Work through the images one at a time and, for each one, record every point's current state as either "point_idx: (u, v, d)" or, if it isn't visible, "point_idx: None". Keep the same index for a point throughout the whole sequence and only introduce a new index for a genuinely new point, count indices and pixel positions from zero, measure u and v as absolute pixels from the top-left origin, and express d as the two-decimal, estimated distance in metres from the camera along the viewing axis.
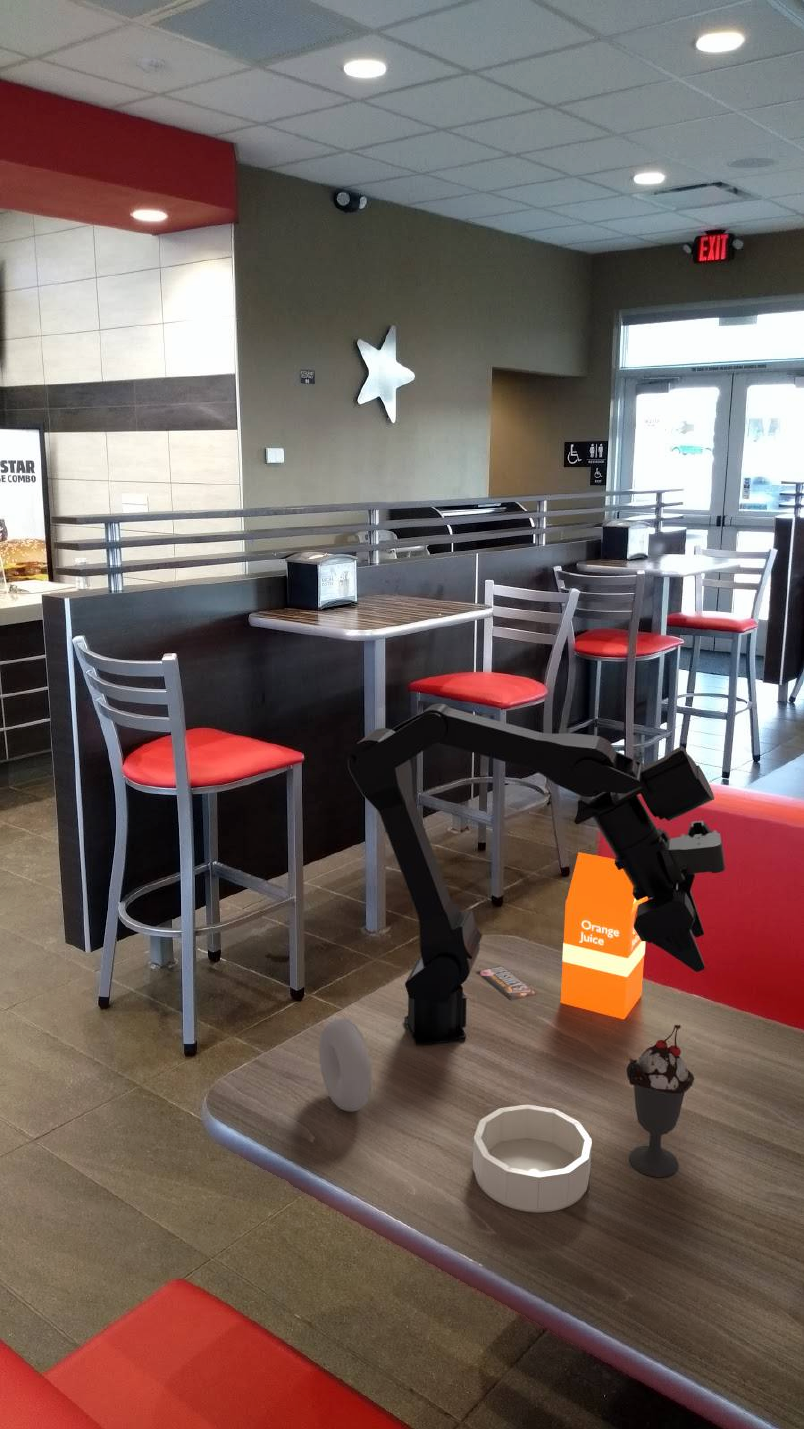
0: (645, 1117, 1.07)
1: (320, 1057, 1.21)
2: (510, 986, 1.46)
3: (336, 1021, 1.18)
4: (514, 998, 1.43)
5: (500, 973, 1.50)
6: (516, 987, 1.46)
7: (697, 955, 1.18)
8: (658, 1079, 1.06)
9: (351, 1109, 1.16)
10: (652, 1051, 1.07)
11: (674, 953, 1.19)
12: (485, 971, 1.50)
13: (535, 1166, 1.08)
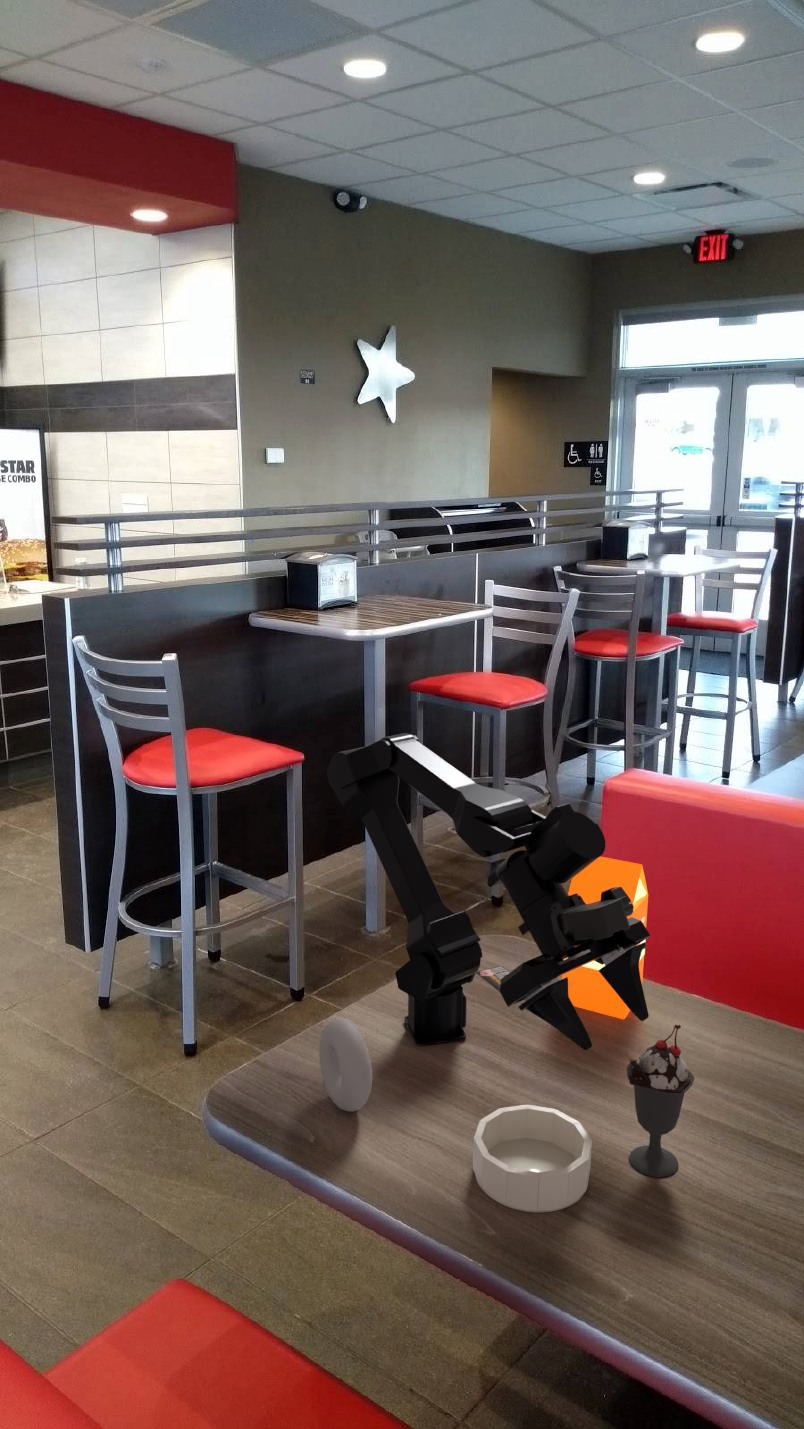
0: (645, 1117, 1.07)
1: (320, 1057, 1.21)
2: None
3: (336, 1020, 1.18)
4: None
5: (500, 973, 1.50)
6: None
7: (577, 1030, 1.08)
8: (658, 1079, 1.06)
9: (351, 1109, 1.16)
10: (652, 1051, 1.07)
11: (556, 1026, 1.10)
12: (485, 971, 1.50)
13: (535, 1166, 1.08)
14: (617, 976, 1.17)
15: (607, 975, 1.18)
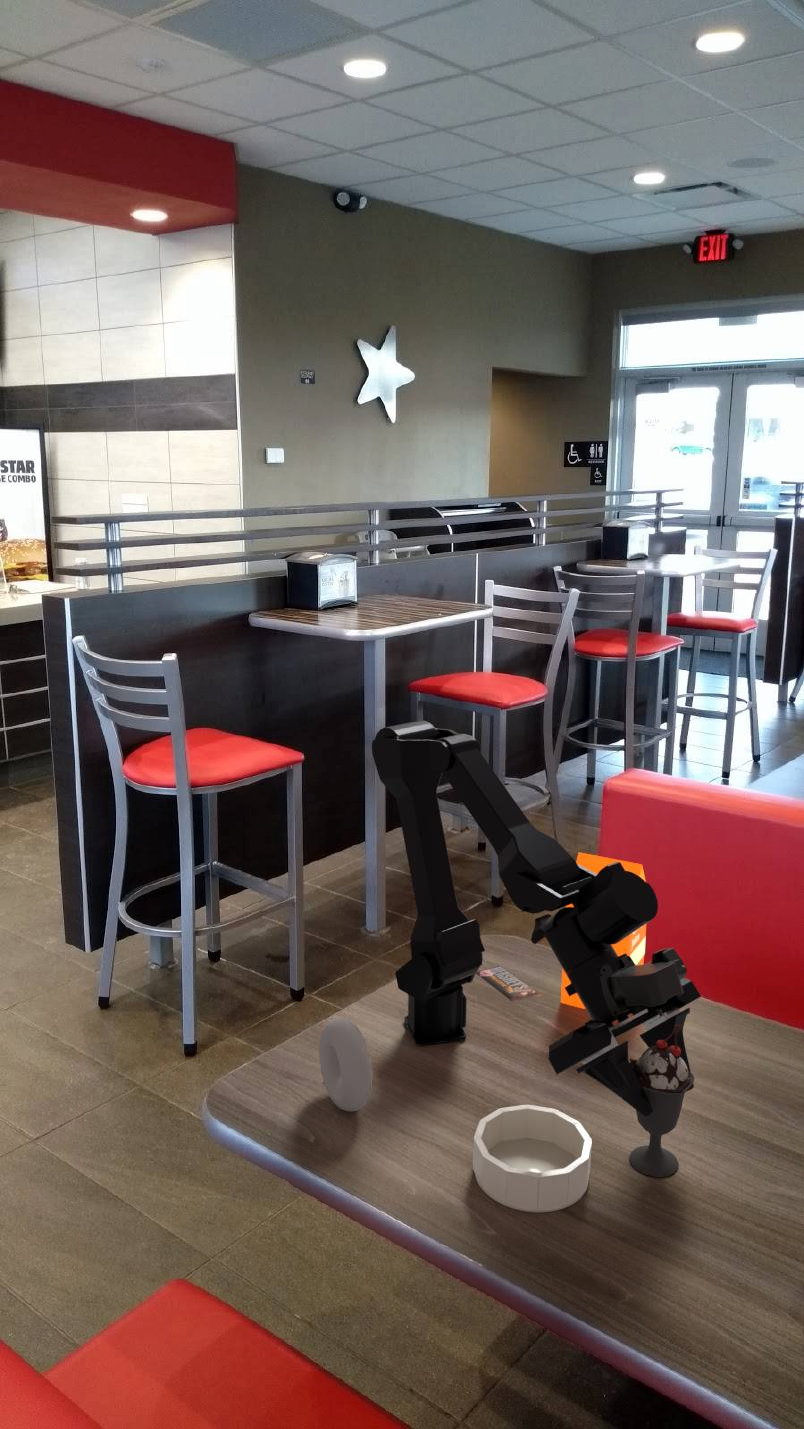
0: (645, 1117, 1.07)
1: (320, 1057, 1.21)
2: (510, 986, 1.46)
3: (336, 1020, 1.18)
4: (515, 998, 1.43)
5: (499, 973, 1.50)
6: (516, 986, 1.46)
7: (638, 1095, 1.05)
8: (658, 1079, 1.06)
9: (351, 1109, 1.16)
10: (652, 1051, 1.07)
11: (615, 1090, 1.07)
12: (484, 971, 1.50)
13: (535, 1166, 1.08)
14: None
15: (649, 1041, 1.13)
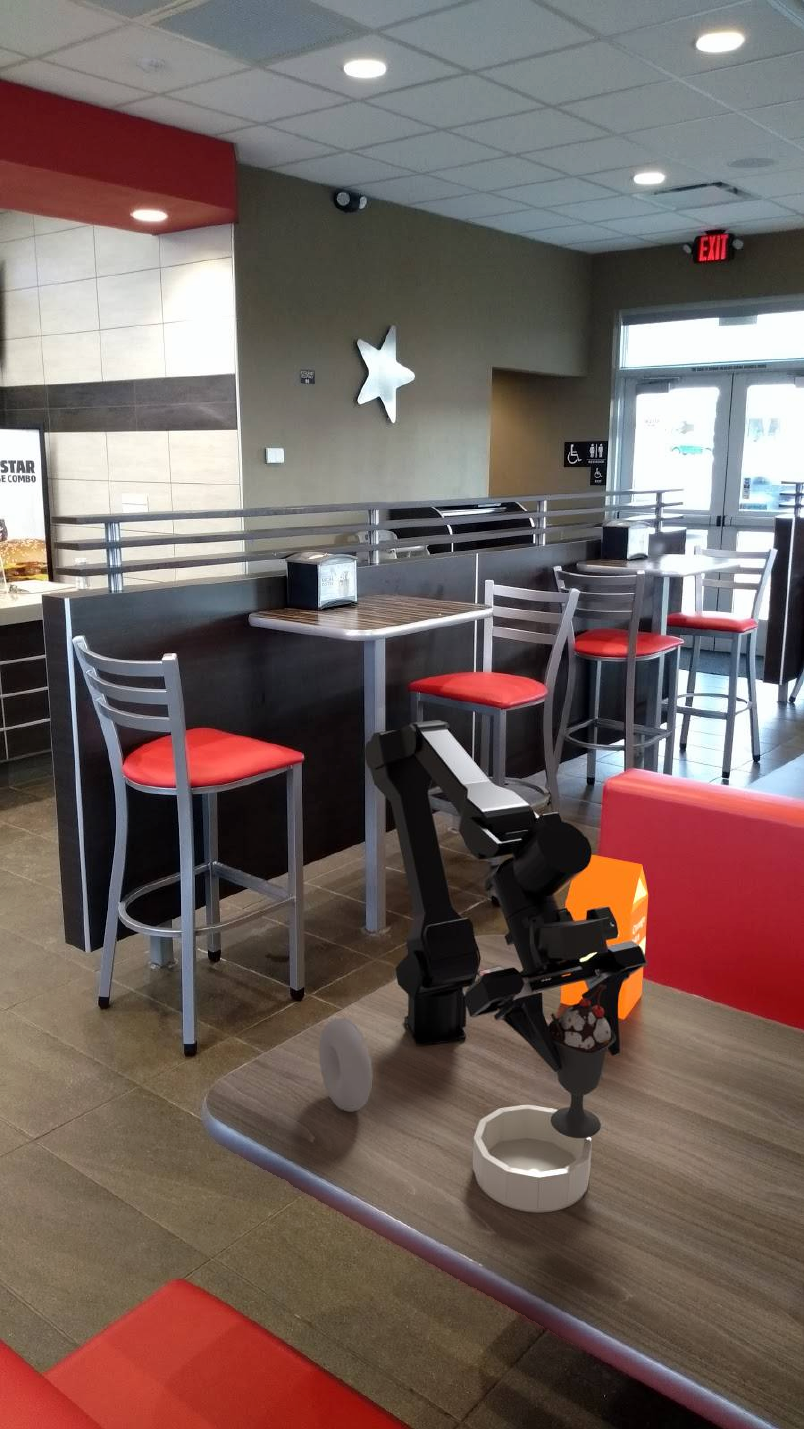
0: (561, 1074, 1.05)
1: (320, 1057, 1.21)
2: None
3: (336, 1021, 1.18)
4: None
5: None
6: None
7: (547, 1049, 1.03)
8: (572, 1036, 1.03)
9: (351, 1109, 1.16)
10: (573, 1008, 1.04)
11: (529, 1041, 1.05)
12: (484, 971, 1.50)
13: (535, 1166, 1.08)
14: (595, 1004, 1.09)
15: None
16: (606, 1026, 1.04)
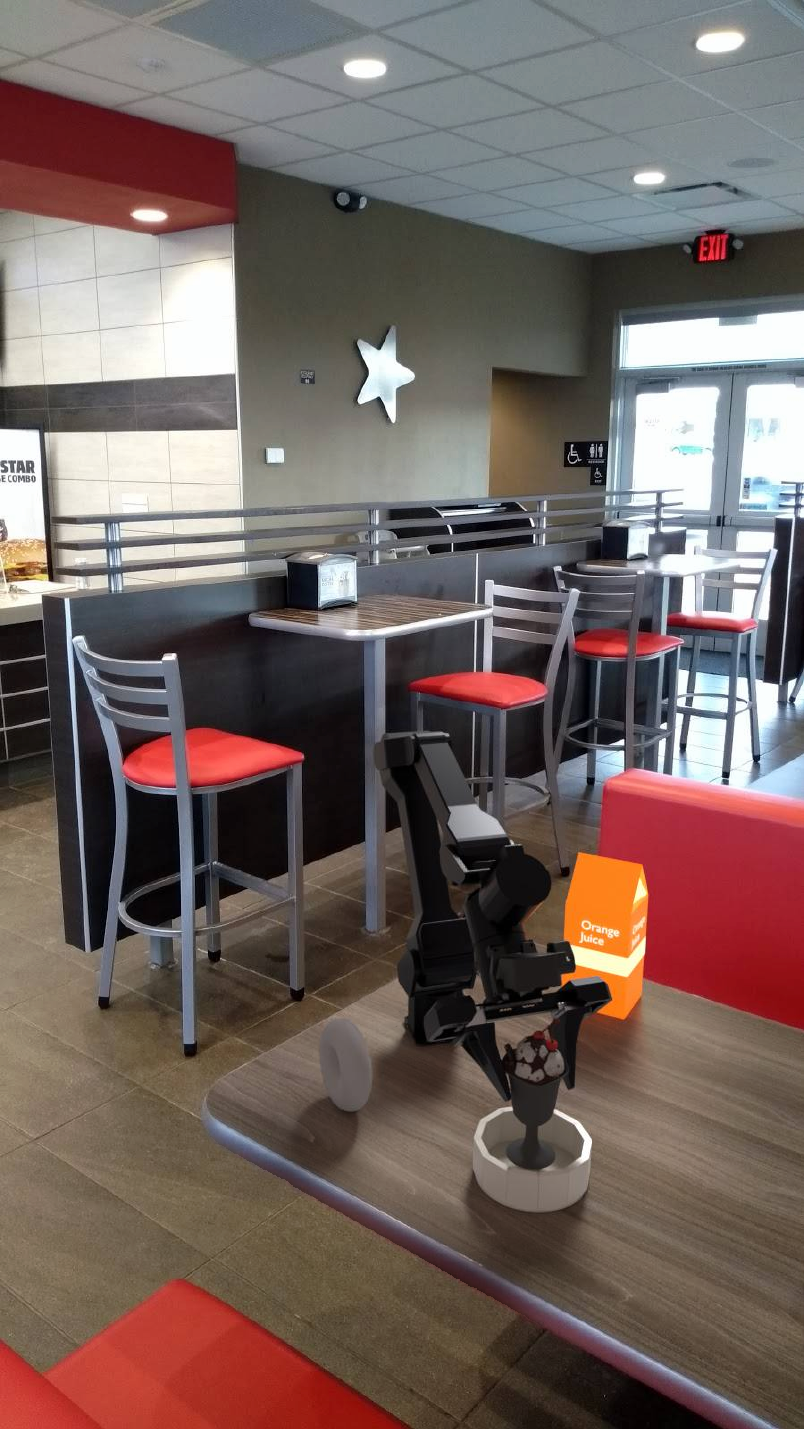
0: (513, 1104, 1.06)
1: (320, 1057, 1.21)
2: None
3: (336, 1021, 1.18)
4: None
5: None
6: None
7: (497, 1078, 1.04)
8: (522, 1067, 1.04)
9: (351, 1109, 1.16)
10: (526, 1039, 1.05)
11: (483, 1070, 1.06)
12: None
13: None
14: (557, 1037, 1.09)
15: None
16: (558, 1060, 1.04)
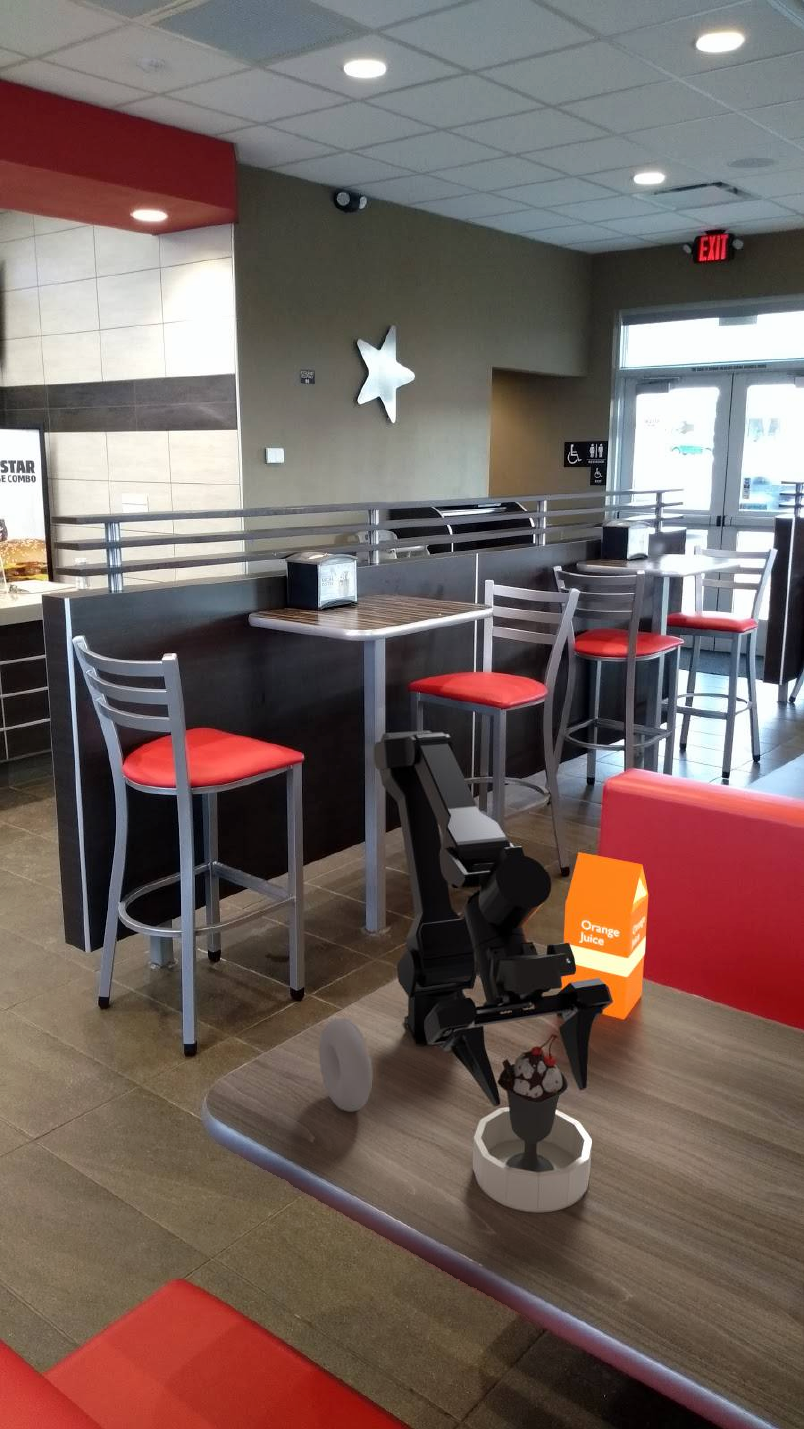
0: (512, 1120, 1.06)
1: (320, 1057, 1.21)
2: None
3: (336, 1021, 1.18)
4: None
5: None
6: None
7: (486, 1083, 1.03)
8: (521, 1084, 1.04)
9: (351, 1109, 1.16)
10: (524, 1055, 1.05)
11: (473, 1074, 1.06)
12: None
13: None
14: (568, 1037, 1.09)
15: (563, 1034, 1.11)
16: (556, 1076, 1.04)
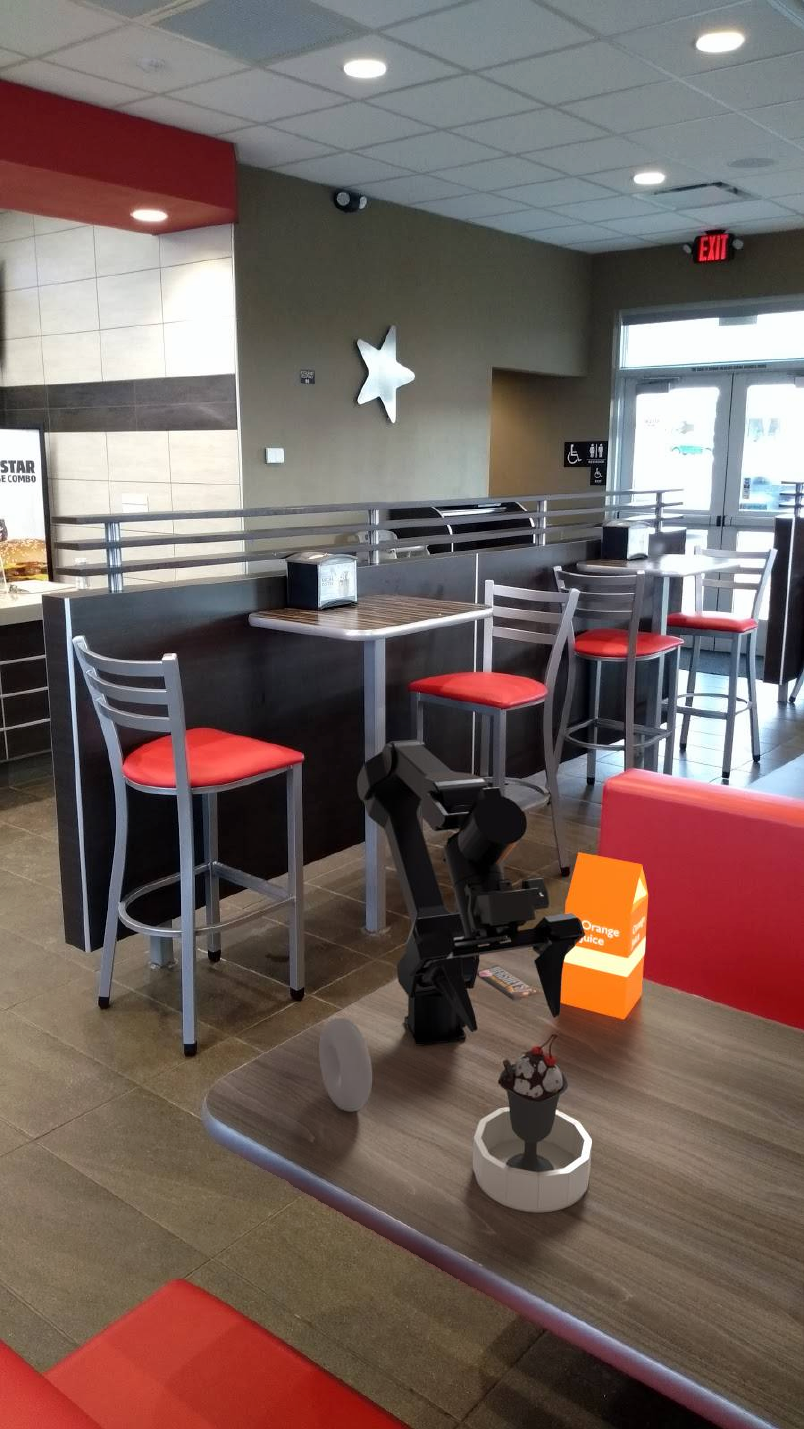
0: (512, 1120, 1.06)
1: (320, 1057, 1.21)
2: (511, 986, 1.46)
3: (336, 1021, 1.18)
4: (517, 998, 1.43)
5: (499, 973, 1.50)
6: (517, 986, 1.46)
7: (464, 1010, 1.09)
8: (521, 1083, 1.04)
9: (351, 1109, 1.16)
10: (525, 1055, 1.05)
11: (451, 1003, 1.11)
12: (483, 972, 1.50)
13: None
14: (543, 969, 1.15)
15: (538, 966, 1.16)
16: (557, 1075, 1.04)
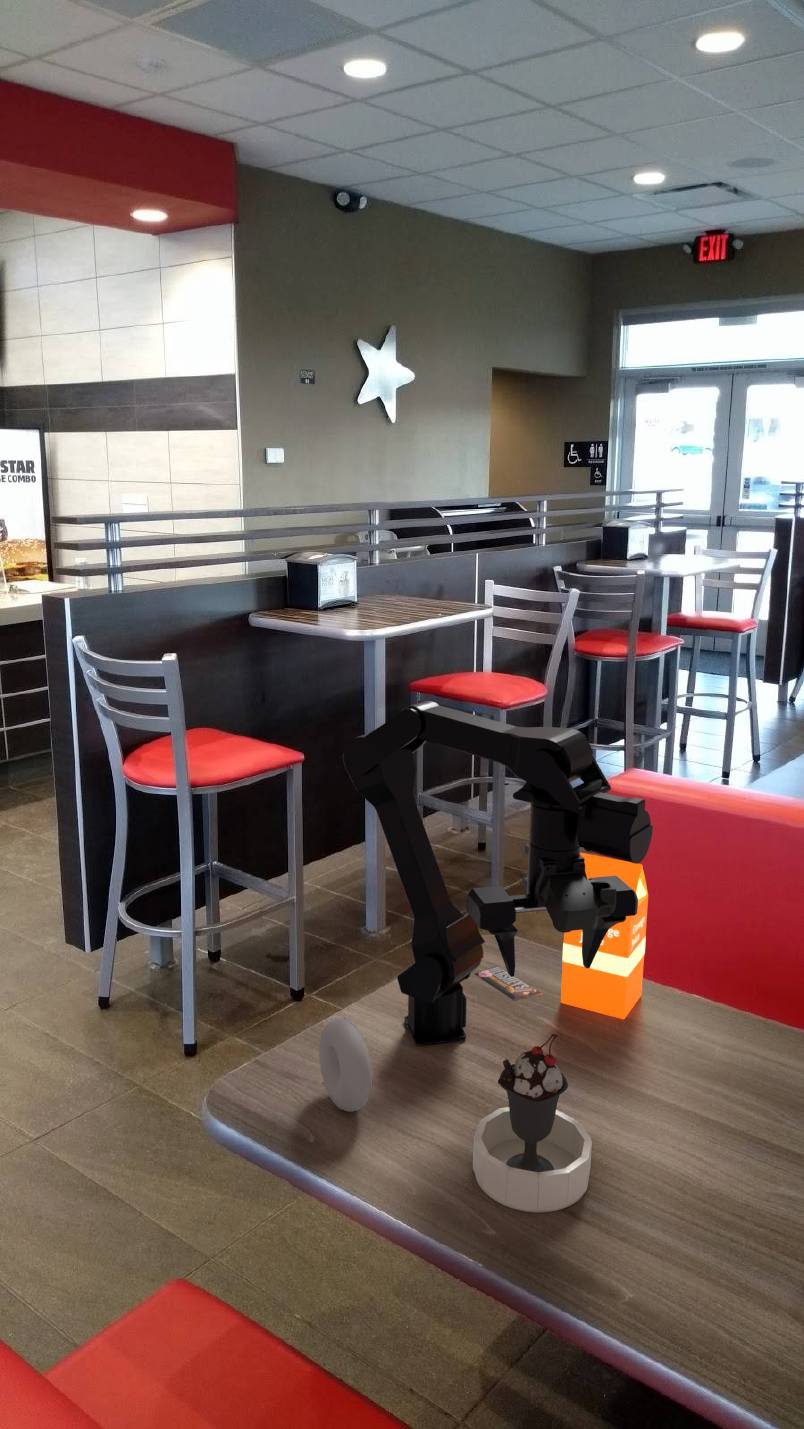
0: (512, 1120, 1.06)
1: (320, 1057, 1.21)
2: (511, 986, 1.46)
3: (336, 1021, 1.18)
4: (518, 997, 1.43)
5: (498, 973, 1.50)
6: (517, 986, 1.46)
7: (507, 962, 1.21)
8: (521, 1083, 1.04)
9: (351, 1109, 1.16)
10: (524, 1055, 1.05)
11: None
12: (483, 972, 1.50)
13: None
14: None
15: None
16: (557, 1075, 1.04)
